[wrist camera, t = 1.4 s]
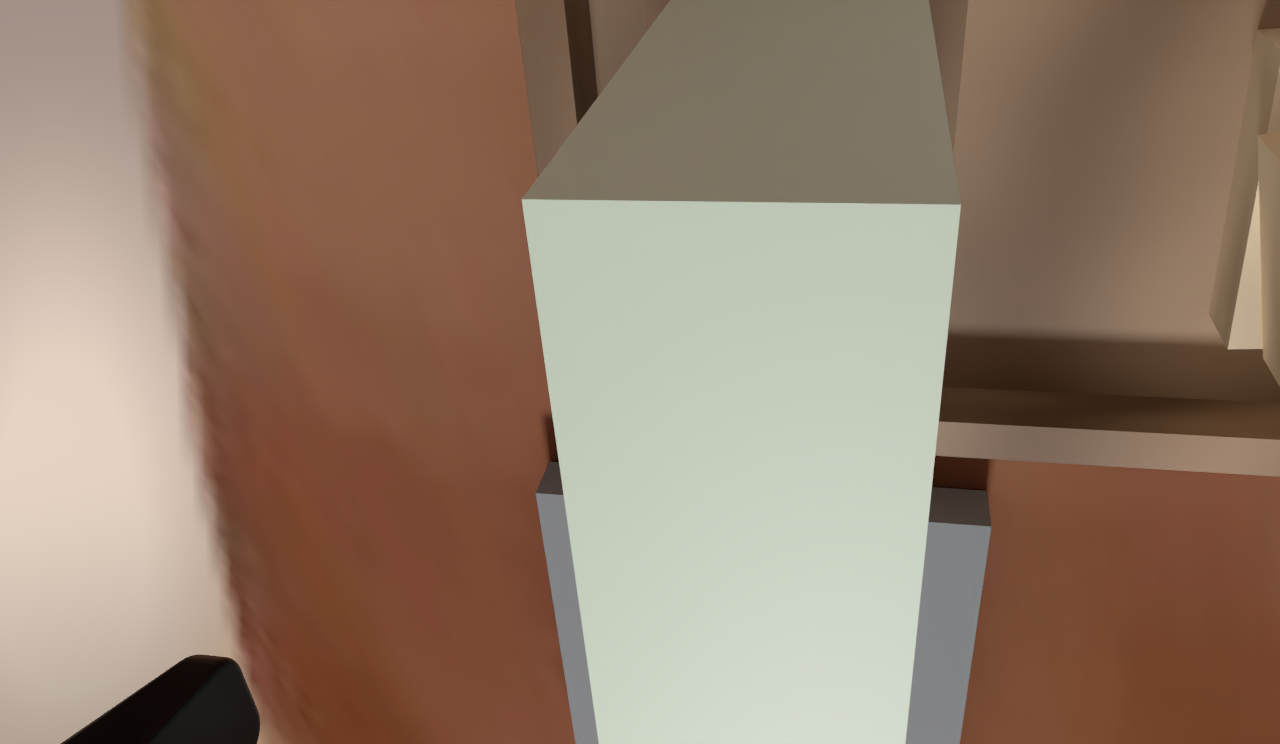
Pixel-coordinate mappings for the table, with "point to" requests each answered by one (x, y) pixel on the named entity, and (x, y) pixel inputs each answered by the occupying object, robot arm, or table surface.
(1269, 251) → the offcut
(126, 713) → the robot arm
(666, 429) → the pale green block
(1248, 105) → the offcut
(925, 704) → the mat
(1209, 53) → the rack
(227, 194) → the table surface
